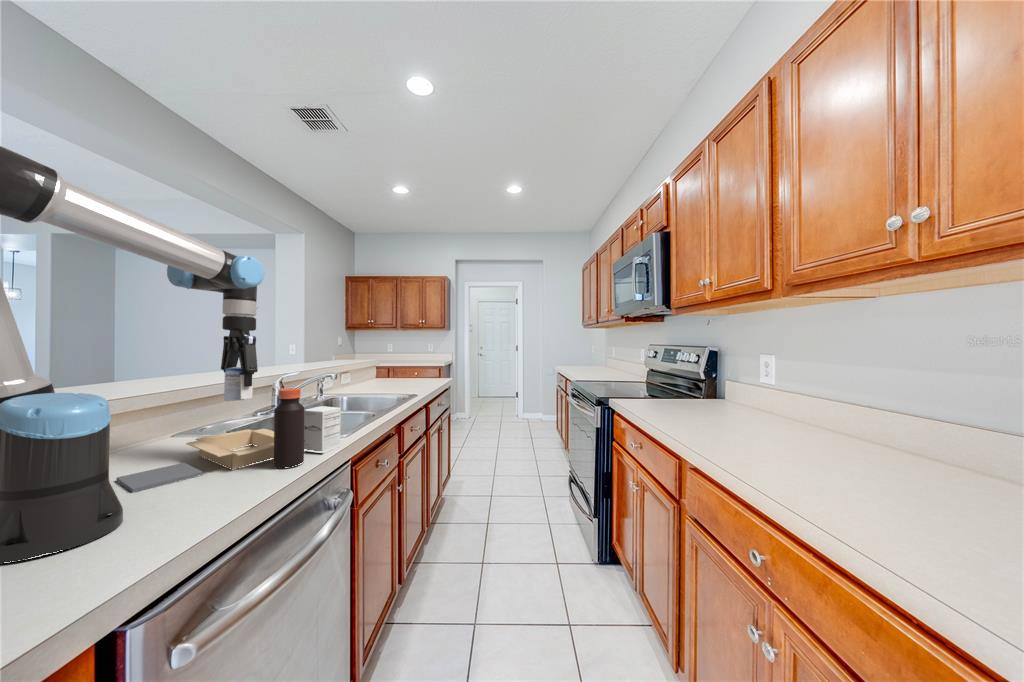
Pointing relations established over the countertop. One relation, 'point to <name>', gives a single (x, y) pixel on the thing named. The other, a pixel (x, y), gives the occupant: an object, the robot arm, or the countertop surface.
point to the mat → (157, 477)
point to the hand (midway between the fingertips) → (238, 396)
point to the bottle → (288, 429)
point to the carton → (222, 443)
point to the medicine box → (232, 384)
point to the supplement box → (321, 428)
